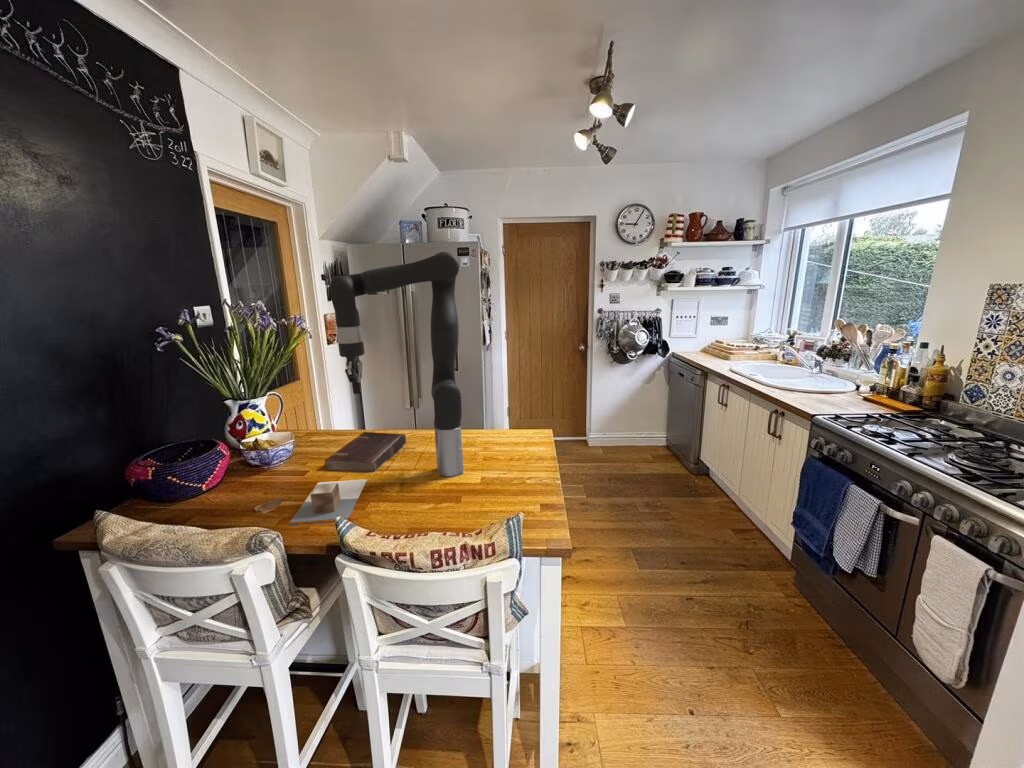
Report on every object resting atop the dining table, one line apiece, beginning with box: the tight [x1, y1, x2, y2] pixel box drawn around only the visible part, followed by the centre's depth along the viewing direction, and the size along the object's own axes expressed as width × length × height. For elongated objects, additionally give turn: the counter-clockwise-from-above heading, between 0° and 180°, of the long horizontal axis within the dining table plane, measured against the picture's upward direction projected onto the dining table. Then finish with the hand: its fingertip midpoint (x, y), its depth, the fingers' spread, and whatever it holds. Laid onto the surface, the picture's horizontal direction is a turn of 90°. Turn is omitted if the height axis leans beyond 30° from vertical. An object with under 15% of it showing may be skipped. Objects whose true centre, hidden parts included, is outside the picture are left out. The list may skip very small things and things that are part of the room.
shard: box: [254, 497, 285, 514], centre depth 125 cm, size 11×8×2 cm
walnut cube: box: [310, 483, 340, 513], centre depth 121 cm, size 6×6×6 cm
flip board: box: [289, 478, 368, 526], centre depth 127 cm, size 16×24×1 cm, turn 7°
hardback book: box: [324, 431, 407, 473], centre depth 160 cm, size 29×19×5 cm, turn 172°
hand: (357, 393), depth 133 cm, fingers closed
